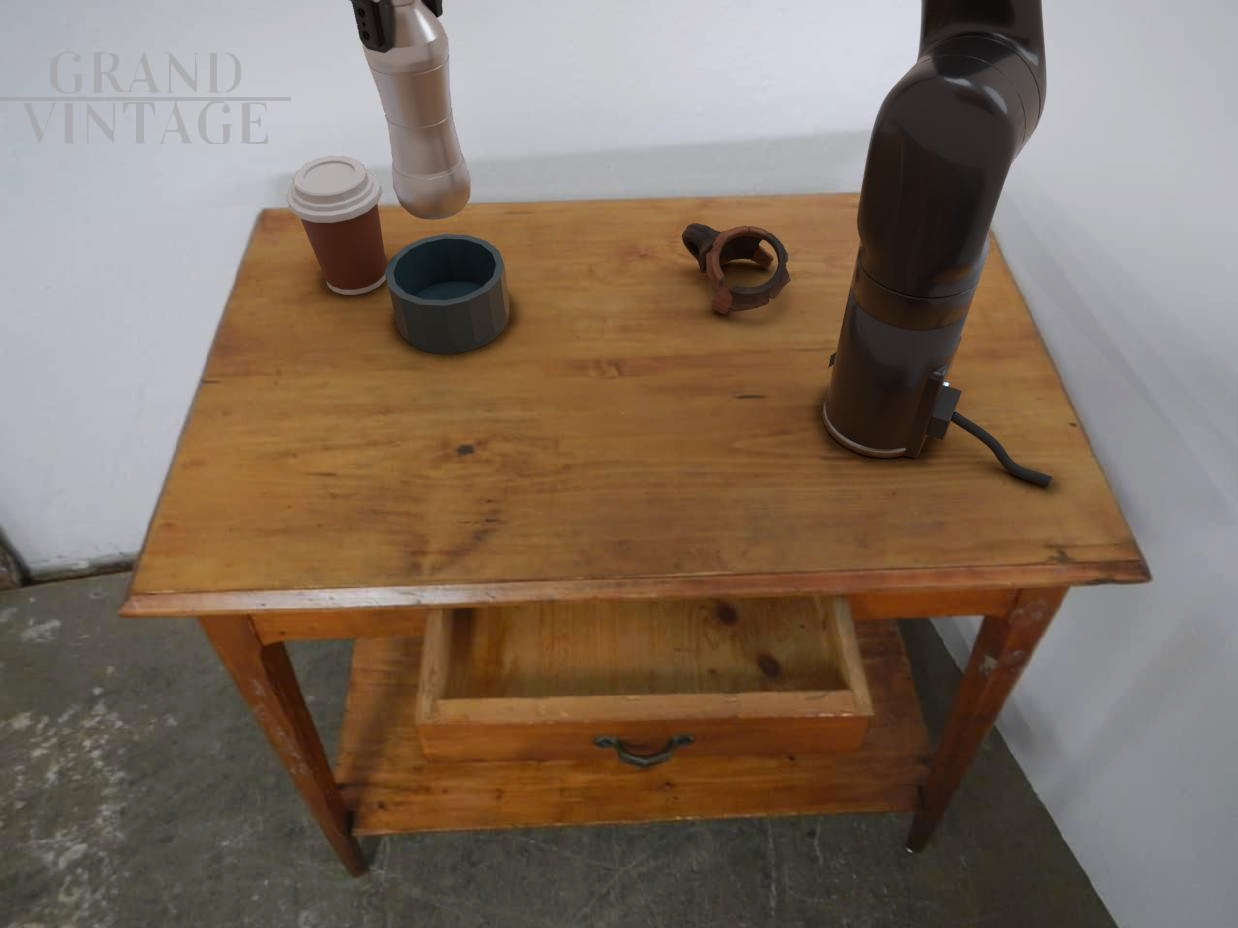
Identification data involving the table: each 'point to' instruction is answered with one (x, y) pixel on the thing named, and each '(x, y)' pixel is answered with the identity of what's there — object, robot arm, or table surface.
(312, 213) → the coffee cup
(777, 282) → the brown ring bracket
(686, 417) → the table surface
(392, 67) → the tan bottle
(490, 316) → the bowl
